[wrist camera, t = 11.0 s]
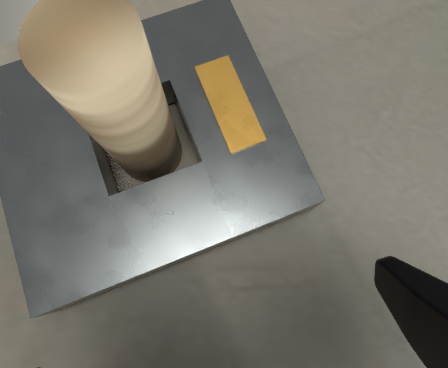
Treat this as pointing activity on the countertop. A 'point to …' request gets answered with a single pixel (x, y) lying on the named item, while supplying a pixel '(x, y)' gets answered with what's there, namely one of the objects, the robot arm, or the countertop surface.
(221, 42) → the grey peg hole board
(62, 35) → the barrel peg
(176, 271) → the countertop surface
